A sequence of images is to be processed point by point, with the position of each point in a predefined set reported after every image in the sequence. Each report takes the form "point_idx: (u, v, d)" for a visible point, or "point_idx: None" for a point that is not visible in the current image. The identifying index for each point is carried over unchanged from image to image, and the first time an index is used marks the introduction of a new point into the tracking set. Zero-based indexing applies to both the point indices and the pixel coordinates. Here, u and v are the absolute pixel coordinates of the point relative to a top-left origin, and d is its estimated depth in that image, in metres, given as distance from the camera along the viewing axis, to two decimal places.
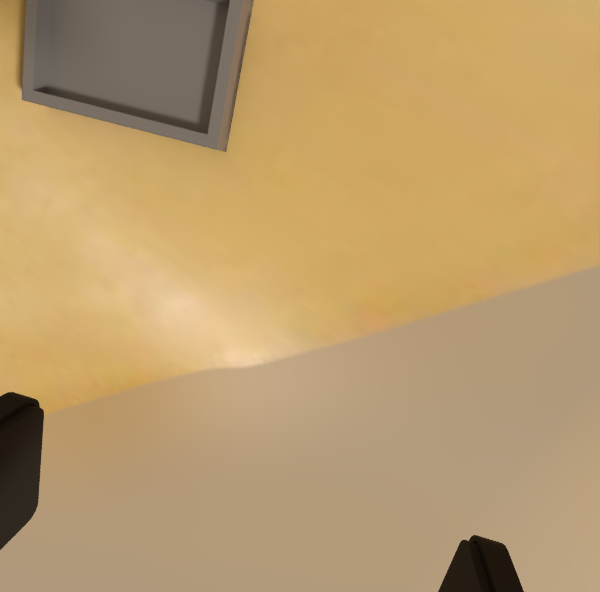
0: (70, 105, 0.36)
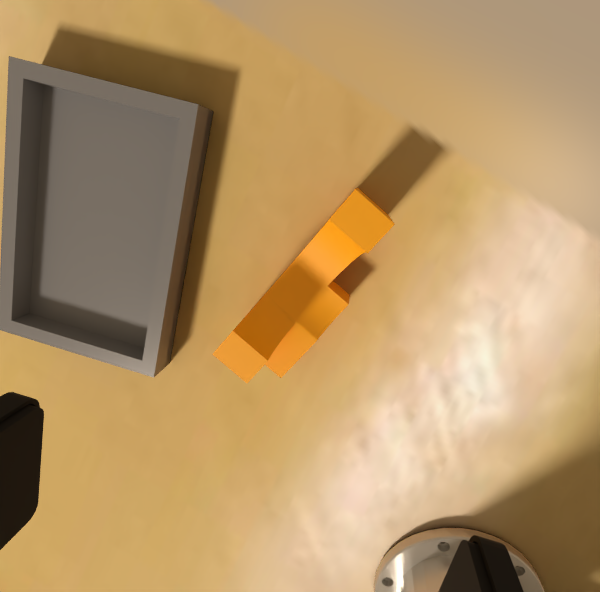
0: (13, 138, 0.26)
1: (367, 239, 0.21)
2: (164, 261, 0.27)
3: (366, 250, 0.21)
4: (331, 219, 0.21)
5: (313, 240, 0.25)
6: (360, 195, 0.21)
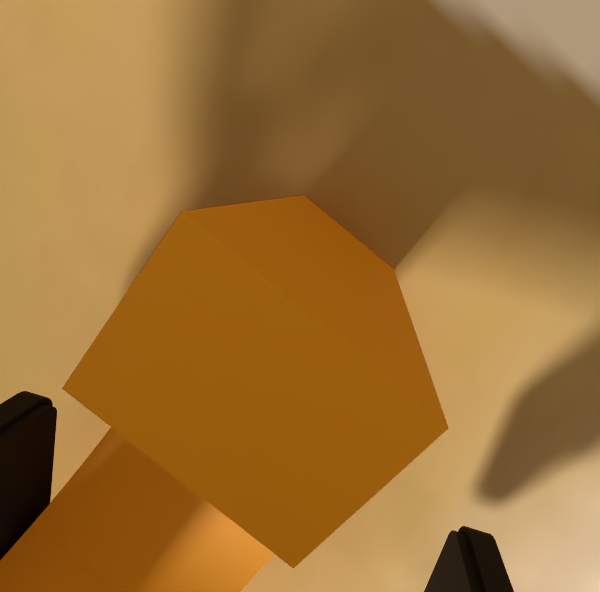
0: None
1: (286, 501, 0.04)
2: None
3: (286, 552, 0.04)
4: (73, 390, 0.04)
5: None
6: (217, 253, 0.03)
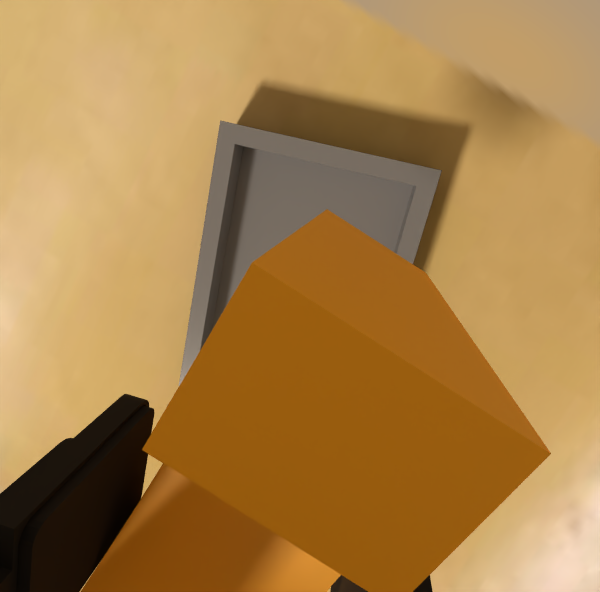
0: (215, 207, 0.24)
1: (383, 542, 0.03)
2: None
3: None
4: (154, 451, 0.04)
5: None
6: (293, 300, 0.03)
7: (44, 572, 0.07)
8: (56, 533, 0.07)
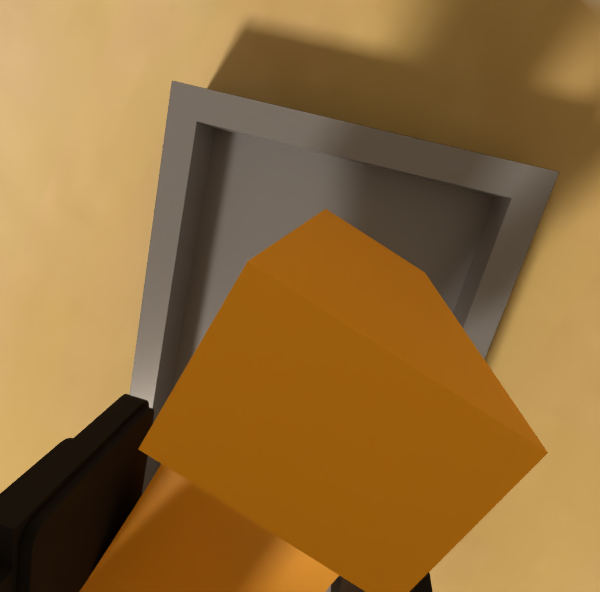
0: (166, 228, 0.14)
1: (380, 541, 0.03)
2: None
3: None
4: (150, 450, 0.04)
5: None
6: (289, 299, 0.03)
7: (44, 572, 0.07)
8: (56, 533, 0.07)
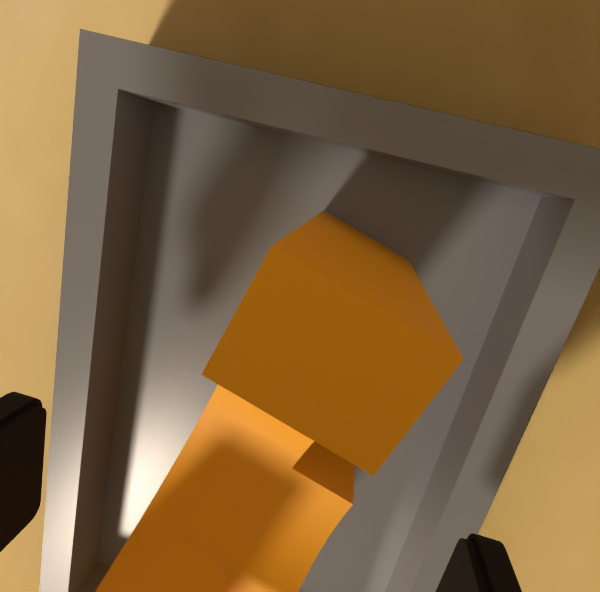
0: (84, 240, 0.10)
1: (363, 428, 0.05)
2: (454, 533, 0.11)
3: (367, 465, 0.05)
4: (209, 374, 0.05)
5: None
6: (297, 268, 0.05)
7: None
8: None
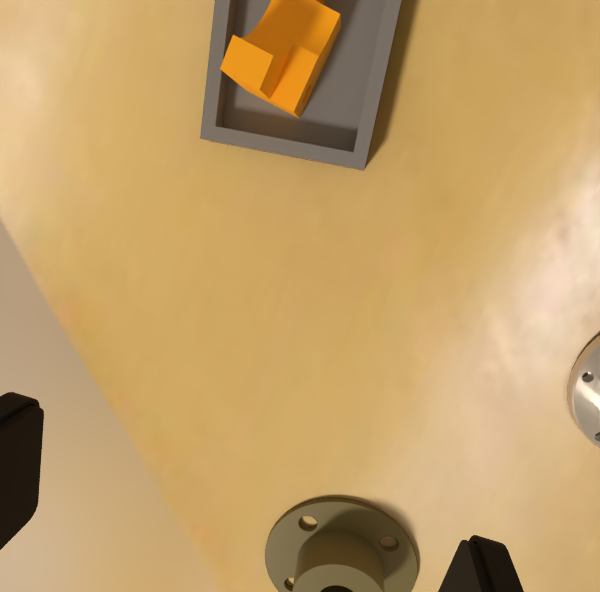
0: None
1: None
2: (385, 35, 0.27)
3: None
4: None
5: None
6: None
7: None
8: None
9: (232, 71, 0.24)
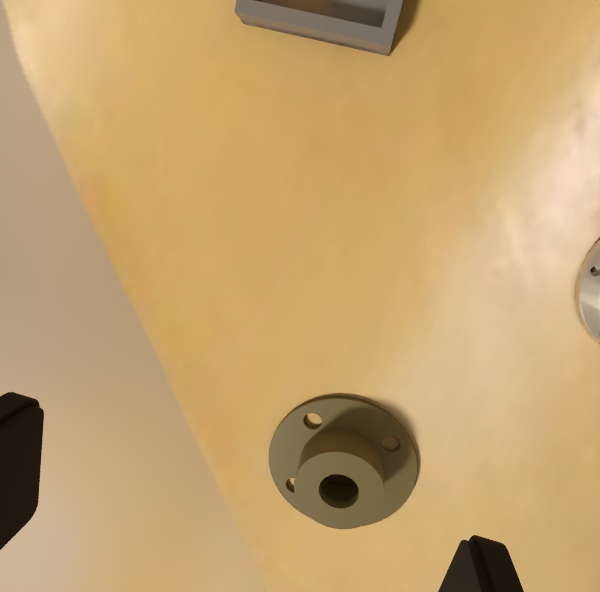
0: None
1: None
2: None
3: None
4: None
5: None
6: None
7: None
8: None
9: None
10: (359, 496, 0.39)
